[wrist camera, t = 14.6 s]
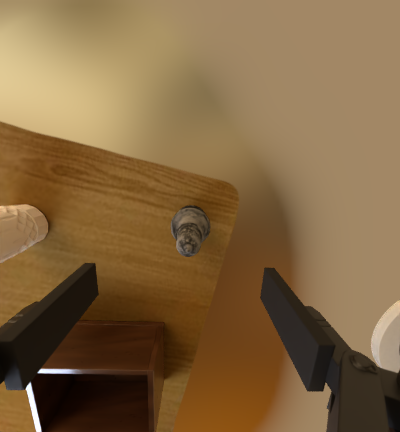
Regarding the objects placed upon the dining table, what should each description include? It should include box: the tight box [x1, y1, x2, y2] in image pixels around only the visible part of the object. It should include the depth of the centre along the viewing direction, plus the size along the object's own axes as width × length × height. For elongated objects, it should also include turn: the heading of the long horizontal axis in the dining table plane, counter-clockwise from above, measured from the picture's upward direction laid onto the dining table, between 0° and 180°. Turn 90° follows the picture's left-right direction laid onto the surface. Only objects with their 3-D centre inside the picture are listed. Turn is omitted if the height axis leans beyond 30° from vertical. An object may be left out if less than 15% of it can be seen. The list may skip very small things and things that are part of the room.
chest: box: [26, 320, 164, 432], centre depth 33 cm, size 15×19×9 cm
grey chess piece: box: [171, 205, 210, 257], centre depth 25 cm, size 6×6×12 cm
